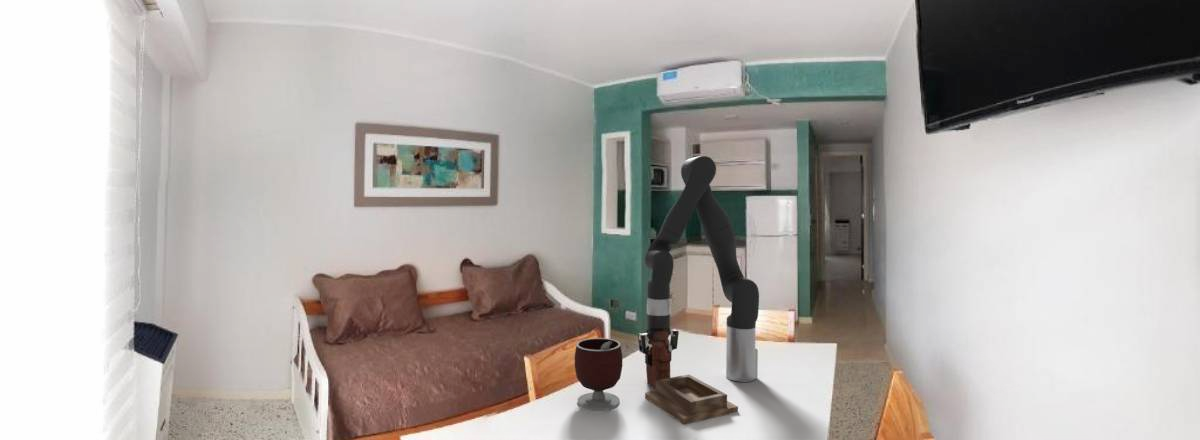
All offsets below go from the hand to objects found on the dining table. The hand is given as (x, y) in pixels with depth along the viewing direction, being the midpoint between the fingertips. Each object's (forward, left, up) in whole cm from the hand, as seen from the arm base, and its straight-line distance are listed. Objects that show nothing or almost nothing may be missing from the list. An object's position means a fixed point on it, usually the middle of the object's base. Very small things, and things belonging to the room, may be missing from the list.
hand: (658, 364), depth 159 cm
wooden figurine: (0, 0, -7) cm, 7 cm away
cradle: (0, +17, -7) cm, 18 cm away
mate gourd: (+23, +5, -7) cm, 24 cm away
